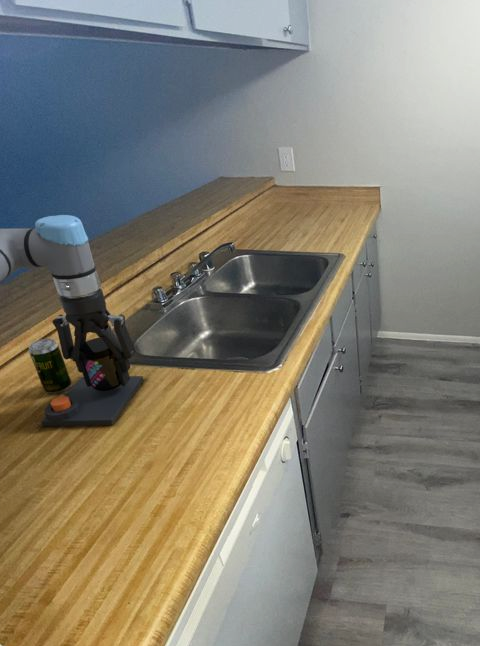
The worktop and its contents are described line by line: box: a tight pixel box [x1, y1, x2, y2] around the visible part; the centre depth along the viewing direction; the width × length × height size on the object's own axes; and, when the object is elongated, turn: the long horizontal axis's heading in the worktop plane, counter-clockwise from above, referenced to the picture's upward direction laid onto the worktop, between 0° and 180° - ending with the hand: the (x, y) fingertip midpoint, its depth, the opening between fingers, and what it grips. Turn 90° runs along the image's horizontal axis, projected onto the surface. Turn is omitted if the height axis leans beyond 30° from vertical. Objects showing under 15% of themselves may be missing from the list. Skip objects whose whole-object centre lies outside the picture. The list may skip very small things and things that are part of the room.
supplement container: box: [79, 337, 121, 391], centre depth 106 cm, size 7×7×10 cm
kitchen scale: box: [40, 375, 144, 427], centre depth 106 cm, size 14×16×3 cm
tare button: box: [50, 395, 71, 412], centre depth 100 cm, size 3×3×2 cm
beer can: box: [28, 338, 72, 395], centre depth 108 cm, size 5×5×12 cm
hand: (108, 382), depth 108 cm, fingers closed on supplement container, 7 cm apart
